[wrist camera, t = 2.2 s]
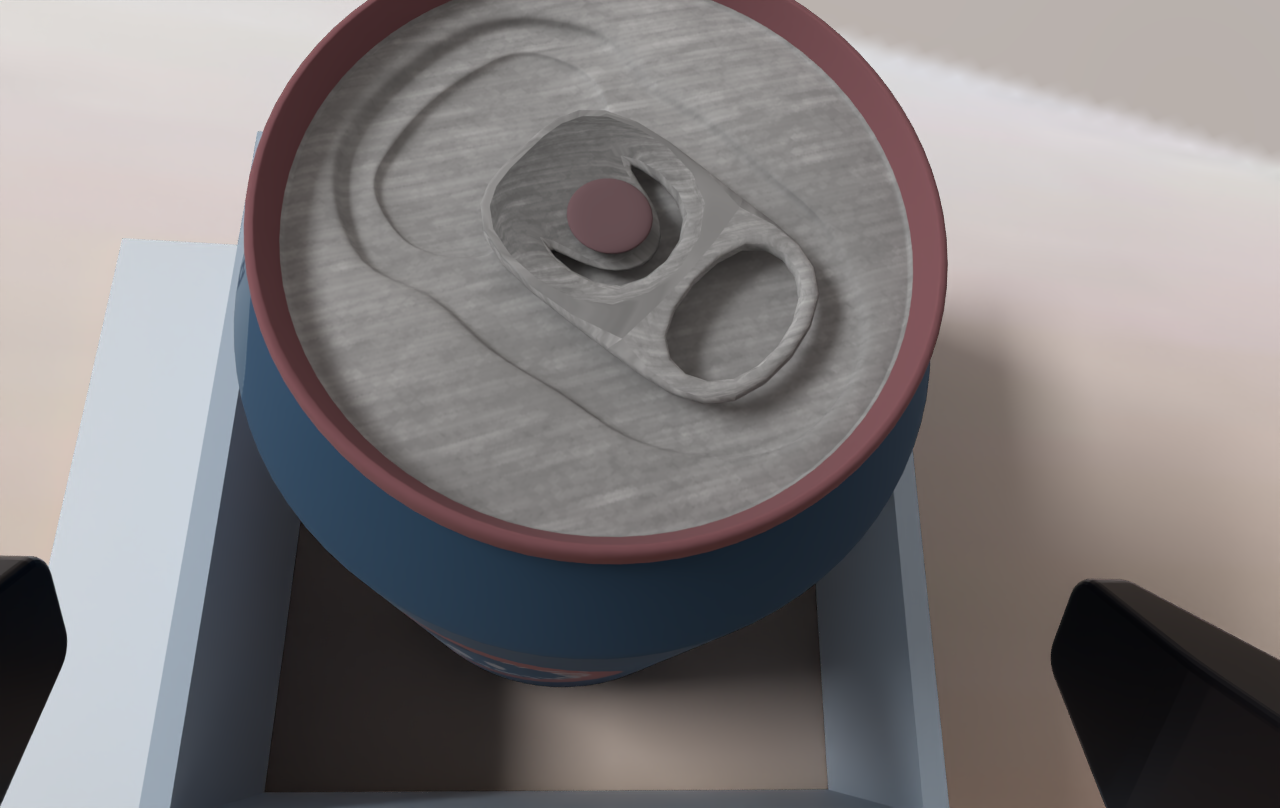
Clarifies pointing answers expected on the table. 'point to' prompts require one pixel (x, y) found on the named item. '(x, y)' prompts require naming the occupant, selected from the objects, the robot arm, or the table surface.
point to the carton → (262, 581)
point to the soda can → (587, 316)
